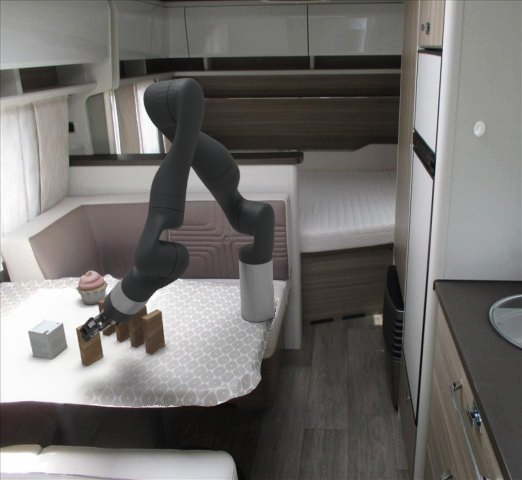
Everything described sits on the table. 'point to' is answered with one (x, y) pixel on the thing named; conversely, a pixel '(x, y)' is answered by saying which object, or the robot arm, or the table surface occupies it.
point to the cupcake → (92, 287)
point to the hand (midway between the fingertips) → (100, 330)
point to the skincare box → (47, 339)
